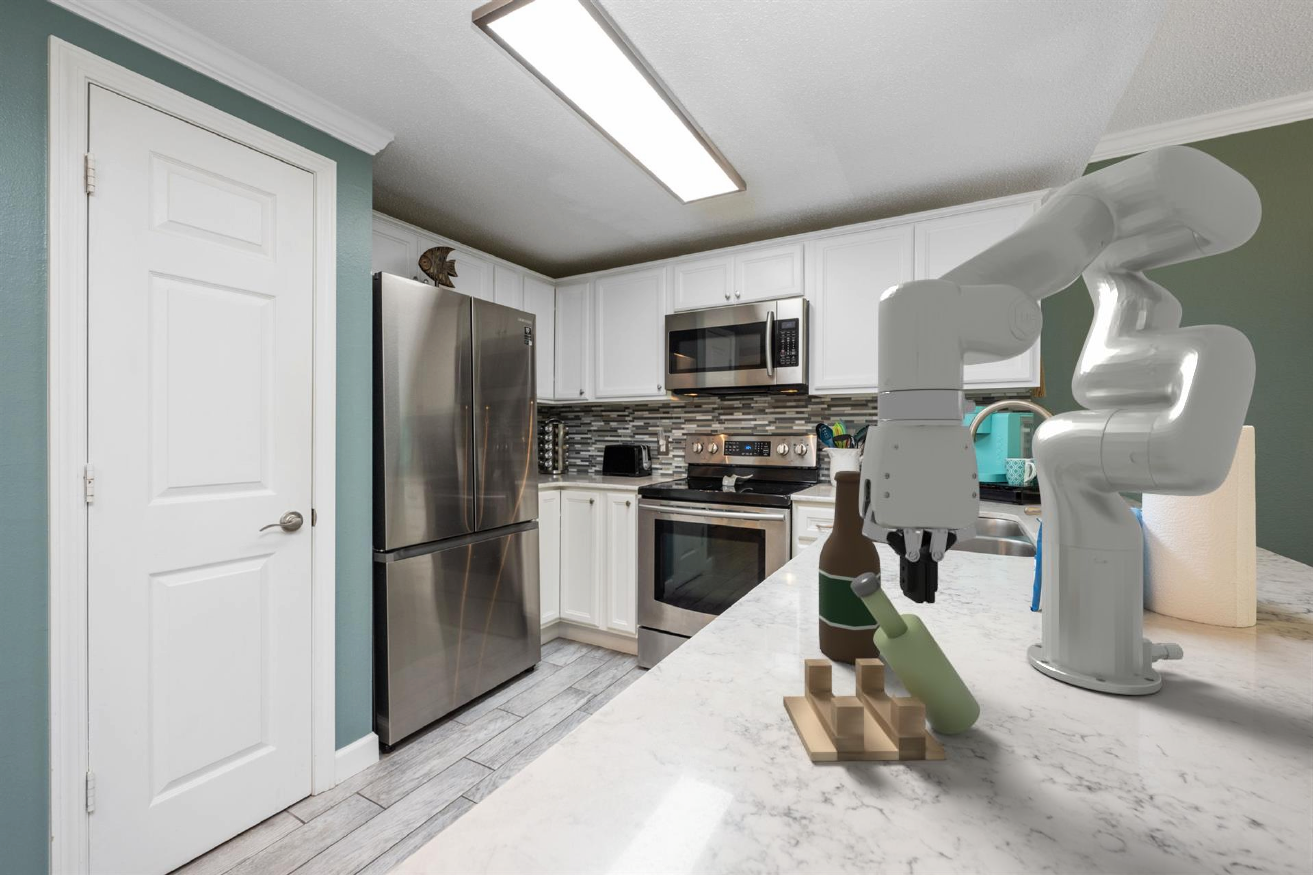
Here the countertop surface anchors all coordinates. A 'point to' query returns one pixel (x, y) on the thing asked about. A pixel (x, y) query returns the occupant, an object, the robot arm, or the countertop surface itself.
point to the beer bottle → (846, 579)
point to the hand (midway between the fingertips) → (918, 598)
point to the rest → (859, 718)
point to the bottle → (918, 661)
